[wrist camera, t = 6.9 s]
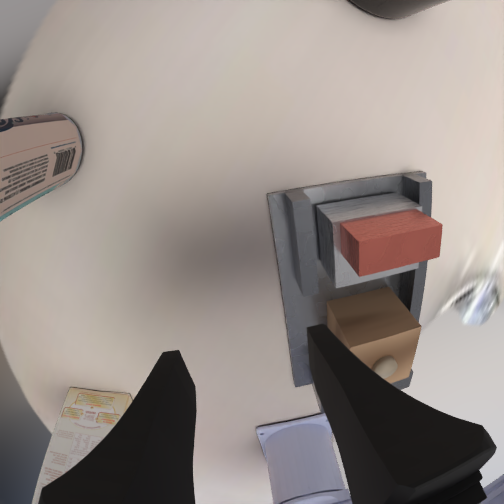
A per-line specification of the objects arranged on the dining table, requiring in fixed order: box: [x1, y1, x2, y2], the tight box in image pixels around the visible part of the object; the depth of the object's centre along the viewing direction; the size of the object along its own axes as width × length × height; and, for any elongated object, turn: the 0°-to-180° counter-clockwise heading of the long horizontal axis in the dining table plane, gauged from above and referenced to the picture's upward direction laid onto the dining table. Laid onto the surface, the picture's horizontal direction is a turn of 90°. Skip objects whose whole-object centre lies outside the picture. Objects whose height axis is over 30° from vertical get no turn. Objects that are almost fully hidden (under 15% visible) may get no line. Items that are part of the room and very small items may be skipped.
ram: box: [316, 193, 442, 288], centre depth 16 cm, size 4×6×6 cm
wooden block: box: [327, 287, 421, 383], centre depth 20 cm, size 5×5×6 cm
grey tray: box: [267, 171, 432, 414], centre depth 20 cm, size 17×11×4 cm, turn 10°
